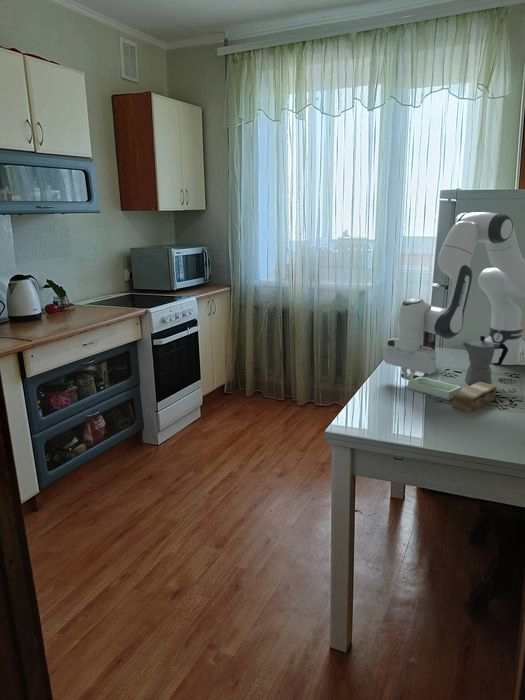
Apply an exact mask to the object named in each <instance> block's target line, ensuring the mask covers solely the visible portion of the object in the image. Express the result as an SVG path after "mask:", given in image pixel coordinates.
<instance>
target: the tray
mask: <svg viewBox="0 0 525 700" xmlns="http://www.w3.org/2000/svg"><path fill="white" fill-rule="evenodd" d="M409 389H410V390H409ZM407 390H409V391H412V390H413V392H417V393H420V394H423V393H424V395H427V396H430V395H431V396H430V397H434V396H436V397H435V398H437V397H439V398H438V399H441V398H443V399H442V400H445V399H446V400H445V401H448V400H449V401H451V400H452V398H453V396H454V393H456V392H458V391H460V390H462V386H459V385H457V384H456V385H455V384H452V383H449V382H448V383H447V382H443V381H440V380H437V379H436V380H435V379H432V378H428V377H426V376H425V377H421V376H420V377H418V378H415V379H414V378H413V380H407ZM450 399H451V400H450Z"/></svg>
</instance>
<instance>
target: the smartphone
mask: <svg viewBox="0 0 525 700" xmlns="http://www.w3.org/2000/svg"><path fill="white" fill-rule="evenodd" d="M407 373H408V374H410V373H411V372H410V369H407ZM427 375H428V374H427V373H423V372H419V371H416V373H415V374H414V375H413V379H415V378H418V377H420V376H421V377H425V378H426V376H427ZM400 376H401V377H402V378H404V375H403V373H402V372H401V374H400Z"/></svg>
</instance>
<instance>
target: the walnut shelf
mask: <svg viewBox="0 0 525 700" xmlns="http://www.w3.org/2000/svg"><path fill="white" fill-rule="evenodd" d="M496 390H497V385H494V384H487V383H483V382H477V383H475V384H473V385H469V386H467V387H464V388H461V390H460V391H458V392H456V393H454V396H453V400H452V408H454V409H458V410H462V411H465V412H468V413H472V412H473V411H475V410H477V409H479V408H481V407H482V406H485V405H486V404H488V403H490V402H492V401H494V400H495V399H496Z"/></svg>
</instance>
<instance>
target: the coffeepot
mask: <svg viewBox="0 0 525 700" xmlns="http://www.w3.org/2000/svg"><path fill="white" fill-rule="evenodd" d="M479 338H480V340H471V341H466V342H463V343H462V345H463V346H464V348H465V350H466V352H467V354H468V360H469V363H470V364H469V365H468V368H467V371H466V375H465V378H464V382H465V383H466V384H467V385H469V386H471V385H473V384H475V383H477V382H483V383H487V384H491V385H493V384H492V383H493V382H492V371H491V369H492V368H491V367H490V366H491V364H492V363H491V361H492V358H493V354H494V351H495V349H503V351H502V353H501V356H500V358H499V362H498V363H493V364H494V366H497V367H499V366H501V364H502V362H503V360H504V358H505V356H506V354H507V352H508V348H507V347H506V346H505V344H498V343H492V342H487V341H485V340H486V336H484V335H480V336H479Z"/></svg>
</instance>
